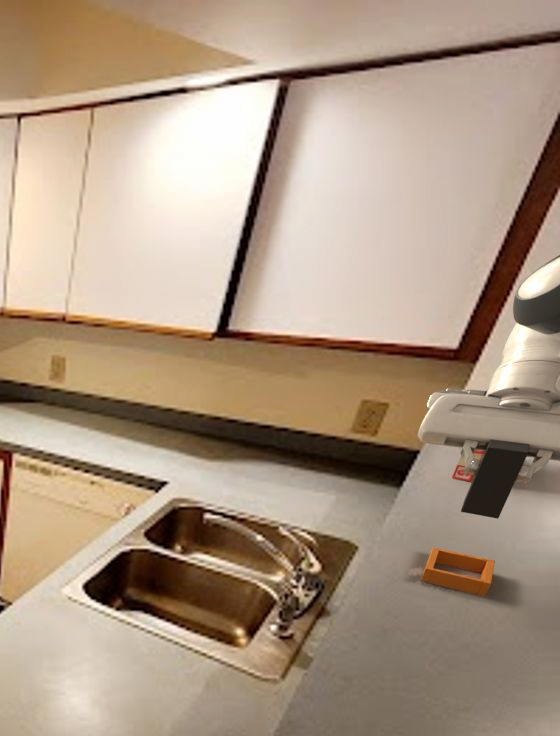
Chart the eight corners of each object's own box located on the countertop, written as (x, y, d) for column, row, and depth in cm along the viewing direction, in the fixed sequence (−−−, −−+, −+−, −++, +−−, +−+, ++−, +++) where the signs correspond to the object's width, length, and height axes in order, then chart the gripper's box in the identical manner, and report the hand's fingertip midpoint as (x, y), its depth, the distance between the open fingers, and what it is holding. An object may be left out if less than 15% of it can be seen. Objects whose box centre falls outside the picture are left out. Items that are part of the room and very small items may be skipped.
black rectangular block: (500, 506, 93) (530, 441, 88) (498, 518, 89) (528, 452, 85) (464, 499, 95) (491, 436, 91) (460, 511, 92) (488, 447, 87)
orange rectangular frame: (490, 580, 95) (500, 559, 93) (484, 610, 88) (495, 587, 86) (421, 564, 100) (429, 544, 98) (411, 591, 93) (420, 569, 92)
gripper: (437, 375, 96) (405, 451, 94) (642, 391, 82) (609, 481, 80) (430, 398, 100) (400, 471, 99) (623, 417, 87) (591, 502, 85)
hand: (495, 476), depth 89 cm, fingers closed on black rectangular block, 4 cm apart
